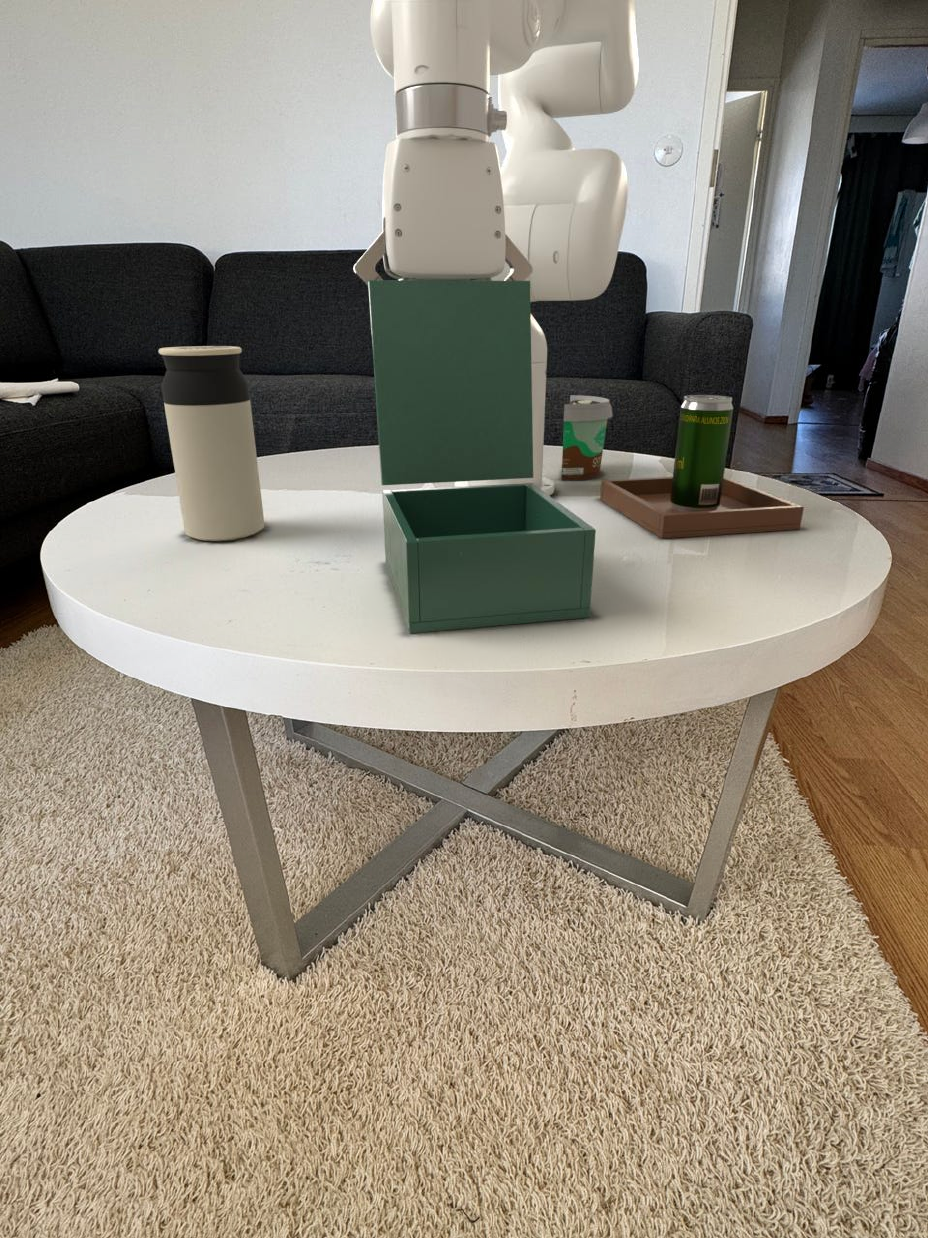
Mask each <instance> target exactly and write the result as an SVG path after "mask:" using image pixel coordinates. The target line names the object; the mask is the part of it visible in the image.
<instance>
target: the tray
mask: <svg viewBox="0 0 928 1238" xmlns="http://www.w3.org/2000/svg"><path fill="white" fill-rule="evenodd" d="M672 479H673V476H660V477H659V476H658V477H642V478H640V477H639V478H623V479H622V478H621V479H620V478H619V479H604V480H601V481H600V496H599V501H601V502H602V503H604V504H605V505H607V506H609V507H610V508H612V509H614V510H615V511H616V512H618V513H620V514H622V515H623V516H625V517H627V518H628V519H629V520H632V521H633V522H634V523H636V524H638V525H639V526H641V527H643V528H644V529H646V530H648V531H649V532H651V533H652V534H654V535H656V536H657V537H658V538H660V539H662V540H663V539H677V538H691V537H705V536H721V535H734V534H750V533H751V534H752V533H763V532H764V533H765V532H778V531H779V532H780V531H793V530H794V531H795V530H800V529H801V525H802V518H803V514H804V509H805V507H804V506H803V505H799V504H797V503H795V502H793V501H789V500H787V499H784V498H781V497H779V496H776V495H774V494H771V493H769V492H766V491H763V490H761V489H758V488H755V487H753V486H750V485H748V484H746V483H743V482H740V481H738V480H736V479H732V478H730V477H727V476H725V475H724V478H723V485H722V492H721V499H720V505H719V507H718V508H717V510H714V511H697V512H680V511H676V510H674V509H673V508H672V505H671V502H670V497H671V488H672Z"/></svg>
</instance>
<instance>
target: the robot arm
mask: <svg viewBox="0 0 928 1238" xmlns="http://www.w3.org/2000/svg"><path fill="white" fill-rule="evenodd" d="M635 6H636V5H635V0H372V2H371V6H370V17H369V21H370V23H369V24H370V25H369V26H370V36H371V41H372V45H373V48H374V53H375V54H376V57H377V59H378V62H379V63H380V65H381V67H382V68H383V70H384V71H385V72H386V73H387V75H388V76H389V77H391V79H392V80H393V82H394V83H393V84H394V110H395V111H394V112H395V137H396V138H395V139H394V140H392V141H390V142H389V143H388V144H387V145H386V149H385V157H384V166H383V175H382V176H383V177H382V204H381V205H382V206H381V207H382V210H381V211H382V213H381V214H382V215H381V216H382V217H381V221H382V223H381V224H382V225H381V226H382V227H381V228H382V229H381V231H382V232H381V233H380V234H379V235H378V237H377V238H376V239H375V240H374V241H373V242H372V244H371V245H369V247H368V248H367V250H366V251H365V252H364V253H363V255H362V256H361V257H360V258H359V259H358V260H357V261H356V263H355V264H354V265H353V272H354V273H355V275H356V276H357V277H358V278H359V279H360V280H361V281H362V282H363V283H364V284H365V285H366V286H367V288H369V286H368V282H369V280H384V279H383V278H382V276H380V274H379V273H378V272H377V271H376V266H377V264H378V263H379V261H380V260H383V267H384V271H385V273H386V274H387V275H388V276H389V277H391V278H394V279H395V280H460V281H530V303H534V302H535V303H536V302H555V301H556V302H557V301H558V302H560V301H563V302H565V301H567V302H568V301H570V302H572V301H573V302H575V301H587V300H592V299H596V298H597V297H599V296H601V295H602V294H603V293H604V292H605V291H606V290H607V289H608V286H609V284H610V283H611V280H612V277H613V274H614V270H615V266H616V261H617V258H618V254H619V253H618V252H619V248H620V242H621V239H622V234H623V228H624V224H625V220H626V215H627V206H628V196H629V194H628V193H629V192H628V191H629V183H628V174H627V170H626V166H625V163H624V162H623V159H622V158H621V156H620V155H619V154H618V153H617V152H615V151H613V150H611V149H607V148H579V149H578V148H577V149H575V146H574V143H573V142H572V139H571V138H570V136H569V135H568V133H567V132H566V131H565V130H564V128H563V127H562V126H561V125H560V123H559V122H558V121H556V120H555V119H560V118H572V117H583V116H584V117H585V116H599V115H608V114H609V115H610V114H614V113H617V112H620V111H621V110H624V109H625V108H626V107H627V106H628V105H629V104H630V102H631V101H632V99H633V96H634V95H635V91H636V88H637V83H638V78H639V77H638V76H639V49H638V48H639V47H638V37H637V23H636V7H635ZM497 75H498V81H497V94H498V108H494V104H493V97H492V96H490V93H491V92H490V89H491V84H490V82H491V78H490V77H491V76H497ZM497 131H501V133H502V137H503V141H504V145H505V149H506V155H505V158H504V160H503V162H502V166H501V164H500V155H499V151H498V146H497V143H495V142H491V141H490V137H492V134H493V133H496V132H497ZM547 363H548V343H547V339H546V336H545V333H544V330H543V329H542V327H541V325H540V324H539V323H538V321H537V320H536V319H535V318H534V316H533V314H532V313H531V368H532V428H533V478H521V479H500V480H480V481H460V482H454V484H453V485H454V487H462V486H482V485H501V484H521V483H523V484H524V483H533V484H534V485H535V486H537V487H538V488H539V489H541V490H542V491H544V492H545V493H546V494H548V495H549V496H550V497H551V496H552V495H553V494H554V493H555V482H554V481H553V480H552V479H550V478H548V477H545V476H543V468H544V467H543V464H544V443H545V442H544V440H545V419H546V418H545V416H546V392H547V391H546V389H547V369H548V368H547V367H548V365H547Z"/></svg>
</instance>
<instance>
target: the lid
mask: <svg viewBox="0 0 928 1238" xmlns="http://www.w3.org/2000/svg"><path fill="white" fill-rule="evenodd" d="M368 286H369V287H368ZM368 286H367V287H368V299H369V314H370V315H369V317H370V329H371V331H370V333H371V346H372V361H373V375H374V376H373V377H374V392H375V393H374V394H375V406H376V423H377V424H376V425H377V439H378V452H379V469H380V483H381V485H382V486H395V485H397V486H398V485H416V484H417V485H419V484H439V483H455V482H460V481H480V480H500V479H521V478H533V428H532V368H531V314H532V313H531V312H532V311H531V309H532V308H531V302H530V281H460V280H399V279H392V280H391V279H383V280H369V282H368Z"/></svg>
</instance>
